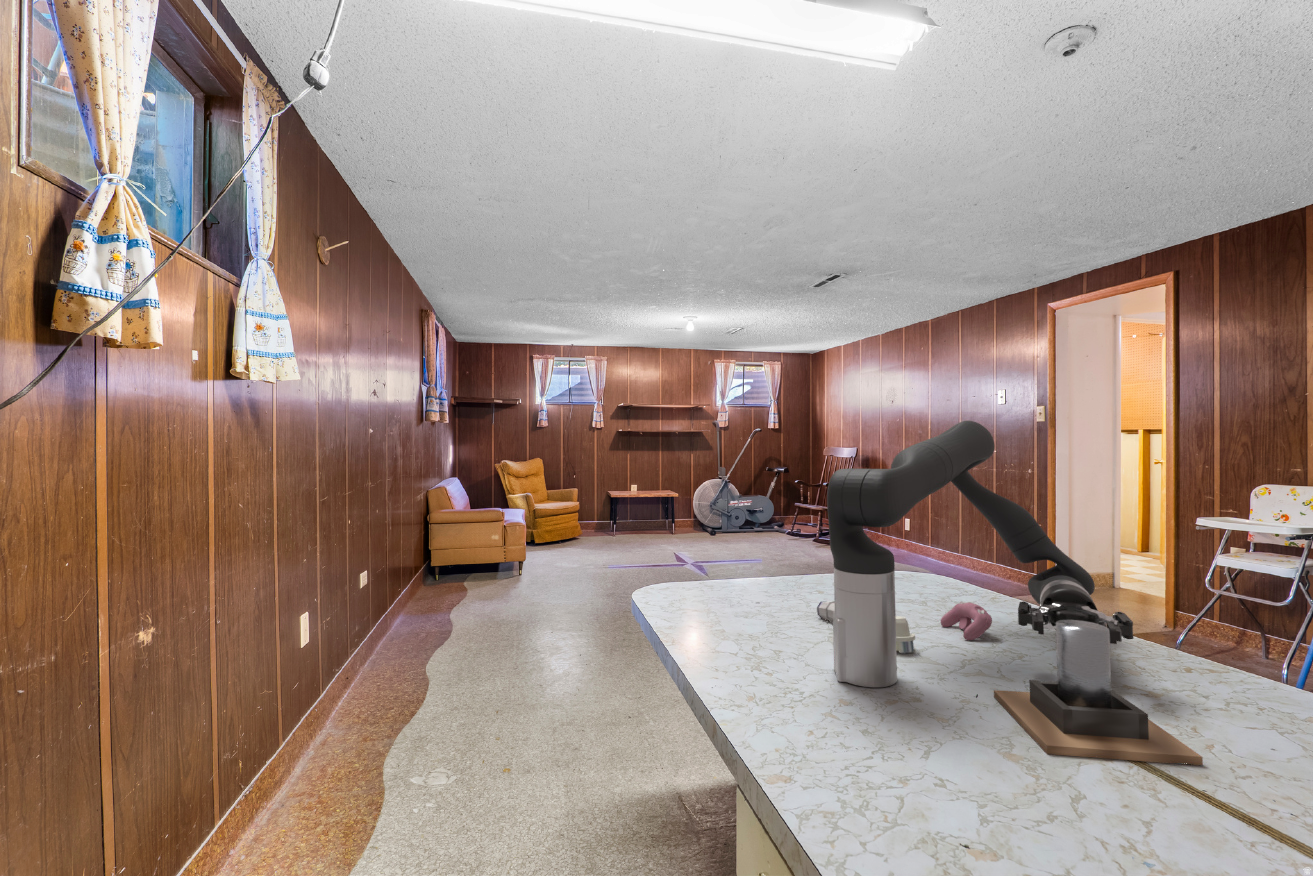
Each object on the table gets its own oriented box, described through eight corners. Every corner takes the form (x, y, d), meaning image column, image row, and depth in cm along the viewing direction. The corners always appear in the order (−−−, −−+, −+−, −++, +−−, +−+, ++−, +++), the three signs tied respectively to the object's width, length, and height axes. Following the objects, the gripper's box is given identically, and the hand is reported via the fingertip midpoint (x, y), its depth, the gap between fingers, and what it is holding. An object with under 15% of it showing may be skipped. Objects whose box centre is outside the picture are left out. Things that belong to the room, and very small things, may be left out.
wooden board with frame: (1046, 753, 68) (1045, 719, 68) (993, 697, 84) (993, 669, 84) (1202, 765, 65) (1201, 730, 65) (1117, 704, 81) (1116, 675, 81)
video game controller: (985, 649, 108) (1000, 615, 109) (963, 639, 108) (979, 605, 109) (956, 633, 118) (970, 602, 118) (936, 623, 118) (951, 592, 118)
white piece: (833, 598, 126) (918, 612, 103) (836, 630, 125) (923, 651, 102) (813, 600, 125) (895, 615, 101) (816, 632, 124) (899, 654, 100)
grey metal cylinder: (1072, 727, 73) (1069, 631, 73) (1050, 708, 78) (1047, 619, 78) (1122, 731, 72) (1119, 633, 72) (1096, 711, 77) (1094, 620, 77)
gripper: (1016, 579, 101) (1017, 600, 87) (1120, 588, 94) (1139, 612, 80) (1018, 622, 101) (1019, 649, 87) (1121, 634, 94) (1140, 667, 80)
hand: (1076, 632), depth 84 cm, fingers open, 8 cm apart
